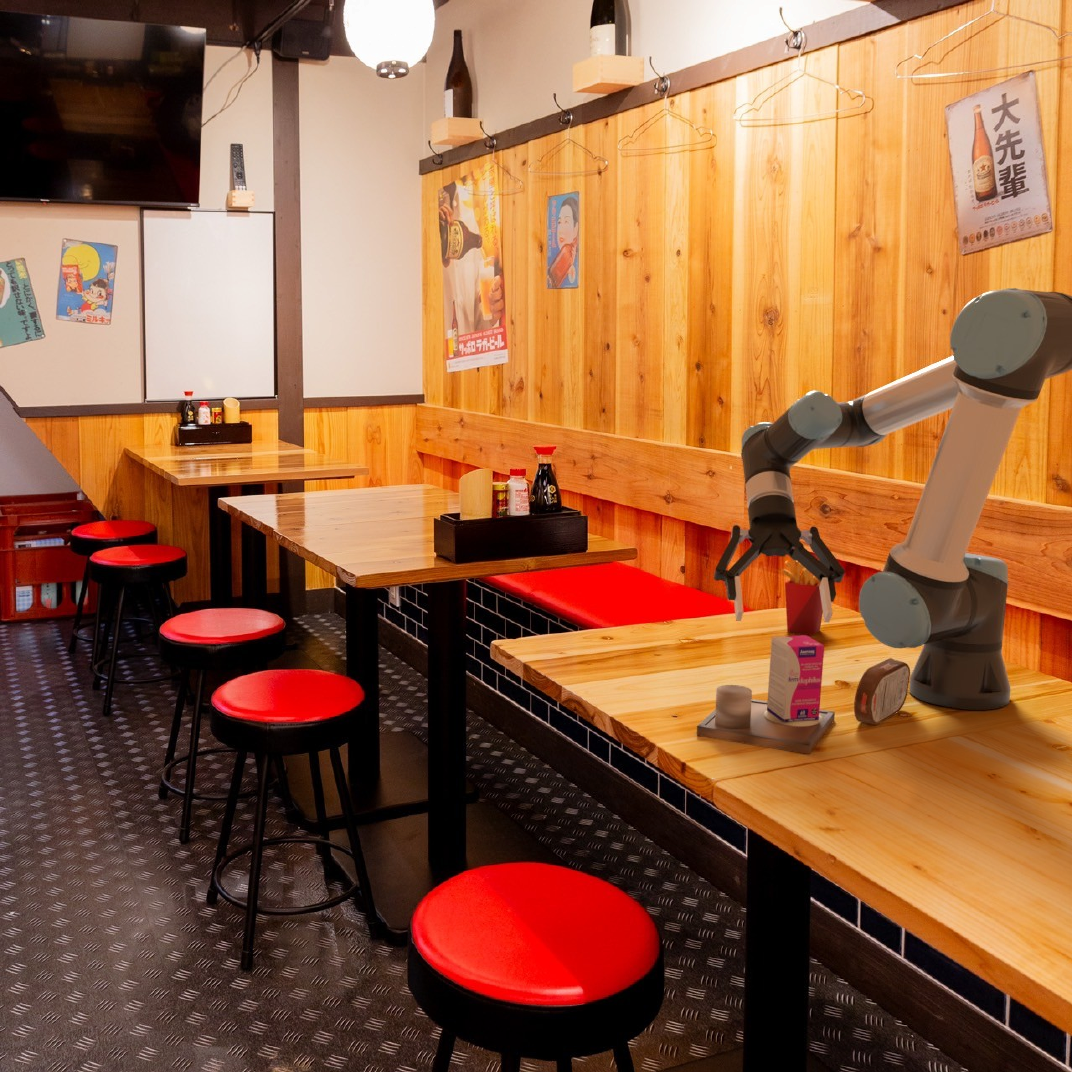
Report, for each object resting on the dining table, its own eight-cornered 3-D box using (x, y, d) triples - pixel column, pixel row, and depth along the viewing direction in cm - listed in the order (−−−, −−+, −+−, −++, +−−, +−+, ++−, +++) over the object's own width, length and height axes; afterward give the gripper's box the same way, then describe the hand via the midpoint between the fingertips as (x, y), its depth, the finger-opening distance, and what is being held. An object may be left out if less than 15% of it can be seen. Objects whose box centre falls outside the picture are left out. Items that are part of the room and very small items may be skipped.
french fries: (826, 630, 227) (830, 554, 224) (812, 639, 220) (816, 561, 217) (783, 623, 231) (786, 549, 229) (767, 632, 224) (771, 556, 222)
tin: (891, 704, 181) (895, 651, 180) (911, 708, 179) (915, 655, 178) (850, 728, 170) (853, 672, 168) (871, 733, 168) (874, 676, 166)
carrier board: (834, 720, 173) (836, 680, 172) (809, 754, 158) (811, 710, 157) (729, 704, 179) (731, 665, 178) (696, 735, 165) (698, 693, 164)
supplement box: (784, 723, 167) (788, 646, 165) (765, 710, 172) (769, 635, 170) (820, 720, 168) (825, 644, 166) (801, 708, 174) (805, 633, 172)
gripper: (842, 520, 194) (860, 630, 181) (692, 518, 194) (700, 628, 182) (852, 493, 187) (871, 605, 175) (697, 491, 188) (705, 602, 176)
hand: (784, 617), depth 178 cm, fingers open, 13 cm apart
